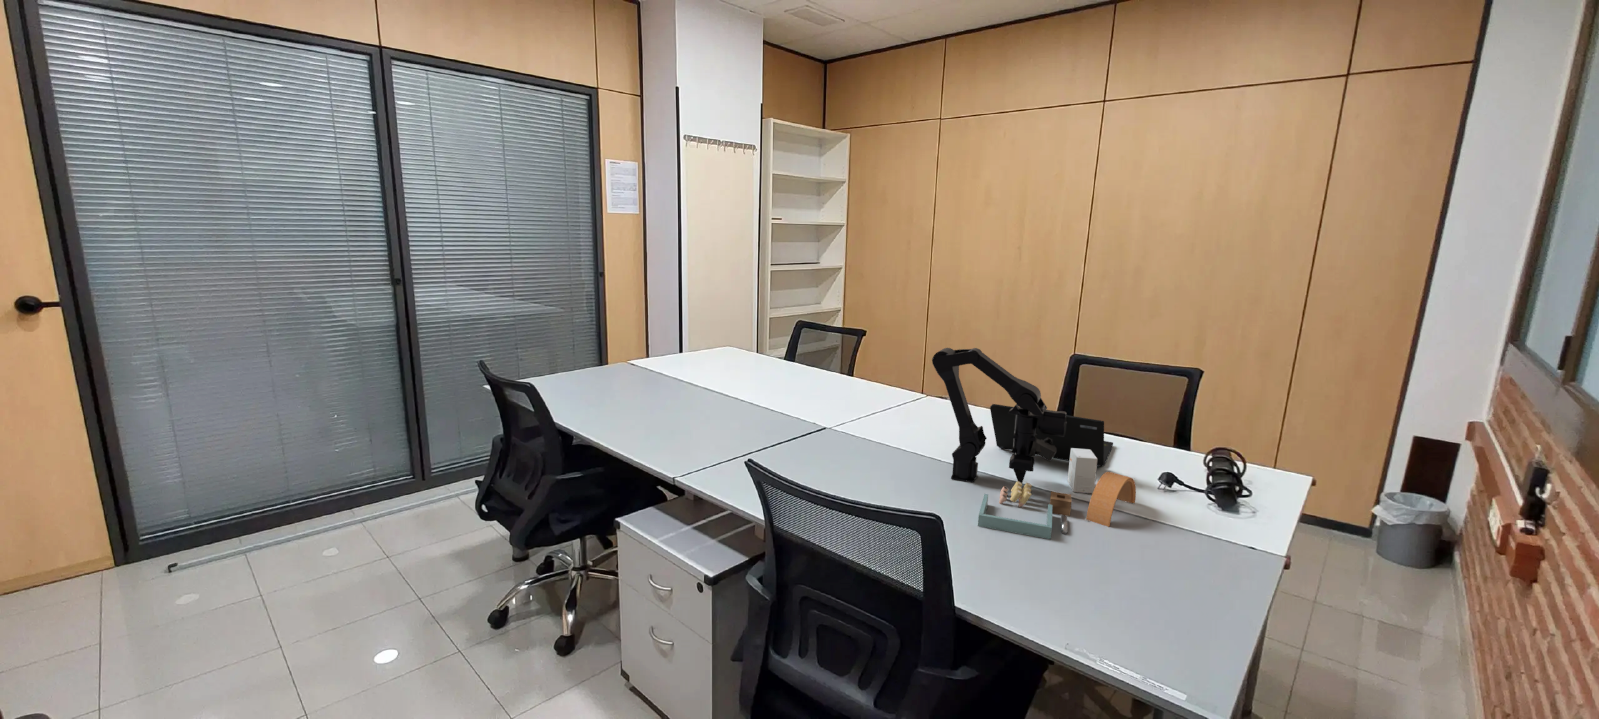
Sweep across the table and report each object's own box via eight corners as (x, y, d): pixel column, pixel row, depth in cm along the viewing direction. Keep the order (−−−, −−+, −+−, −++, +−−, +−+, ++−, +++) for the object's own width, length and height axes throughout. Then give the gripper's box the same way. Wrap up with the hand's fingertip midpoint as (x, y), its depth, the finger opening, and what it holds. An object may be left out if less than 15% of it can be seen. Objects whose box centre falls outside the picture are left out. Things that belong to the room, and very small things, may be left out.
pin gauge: (1060, 533, 155) (1061, 528, 155) (1060, 519, 162) (1061, 514, 162) (1067, 534, 155) (1067, 529, 154) (1066, 520, 162) (1067, 515, 162)
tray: (977, 525, 158) (978, 514, 158) (983, 504, 171) (984, 493, 170) (1050, 539, 152) (1051, 527, 152) (1051, 515, 165) (1052, 504, 164)
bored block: (1049, 512, 166) (1050, 498, 165) (1049, 505, 171) (1051, 491, 170) (1069, 516, 164) (1071, 502, 163) (1069, 508, 169) (1071, 494, 168)
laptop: (1113, 447, 216) (1120, 392, 212) (1097, 485, 185) (1104, 421, 181) (1014, 429, 234) (1019, 378, 229) (983, 460, 203) (988, 402, 198)
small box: (1093, 494, 178) (1098, 459, 176) (1072, 492, 179) (1076, 457, 177) (1087, 482, 186) (1091, 449, 183) (1066, 481, 187) (1070, 447, 184)
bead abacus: (1032, 482, 174) (1001, 478, 176) (1031, 493, 167) (1000, 488, 170) (1030, 498, 175) (1000, 493, 178) (1030, 510, 168) (998, 505, 171)
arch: (1085, 519, 163) (1089, 483, 161) (1113, 496, 177) (1117, 463, 175) (1108, 527, 159) (1113, 490, 157) (1135, 503, 173) (1140, 469, 171)
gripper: (1056, 445, 166) (1050, 500, 169) (1056, 424, 183) (1051, 475, 186) (1011, 439, 170) (1006, 493, 173) (1015, 419, 187) (1011, 469, 190)
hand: (1020, 482), depth 180 cm, fingers closed
